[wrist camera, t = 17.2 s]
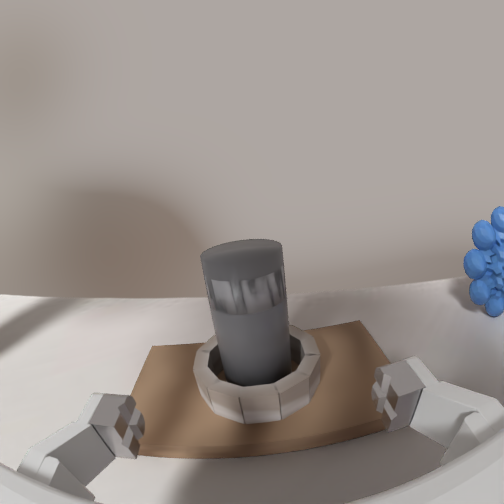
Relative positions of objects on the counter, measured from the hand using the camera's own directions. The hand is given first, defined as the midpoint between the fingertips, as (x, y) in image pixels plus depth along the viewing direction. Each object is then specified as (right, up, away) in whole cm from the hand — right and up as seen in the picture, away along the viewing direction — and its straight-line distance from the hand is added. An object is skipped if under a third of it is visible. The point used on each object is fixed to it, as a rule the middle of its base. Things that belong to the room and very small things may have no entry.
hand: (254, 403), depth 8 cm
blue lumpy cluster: (+26, -3, +13) cm, 30 cm away
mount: (+1, -6, +12) cm, 13 cm away
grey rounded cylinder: (+1, -5, +11) cm, 12 cm away
